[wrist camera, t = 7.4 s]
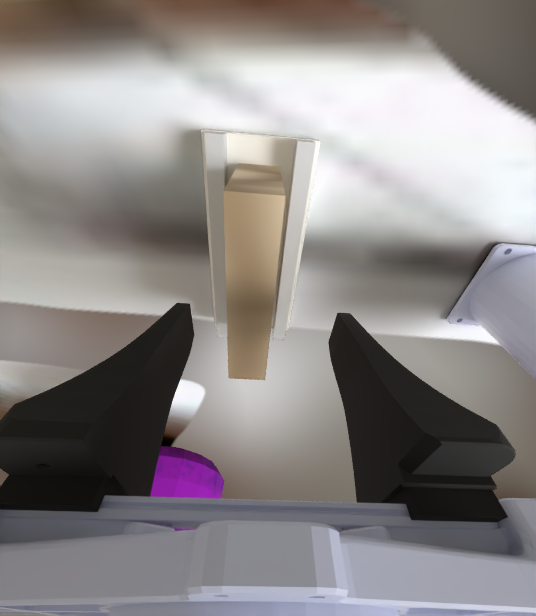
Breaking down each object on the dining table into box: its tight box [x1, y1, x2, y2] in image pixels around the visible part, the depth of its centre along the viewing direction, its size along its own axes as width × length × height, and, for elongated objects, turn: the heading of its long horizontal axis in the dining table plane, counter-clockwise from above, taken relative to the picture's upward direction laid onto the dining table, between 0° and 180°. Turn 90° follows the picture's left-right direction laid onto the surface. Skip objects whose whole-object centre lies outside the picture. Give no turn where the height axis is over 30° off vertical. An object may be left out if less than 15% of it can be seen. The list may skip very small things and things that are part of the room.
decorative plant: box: [150, 446, 224, 531], centre depth 31 cm, size 19×18×30 cm
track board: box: [201, 129, 321, 340], centre depth 19 cm, size 7×15×2 cm, turn 176°
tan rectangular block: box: [223, 163, 286, 380], centre depth 17 cm, size 2×12×7 cm, turn 176°
